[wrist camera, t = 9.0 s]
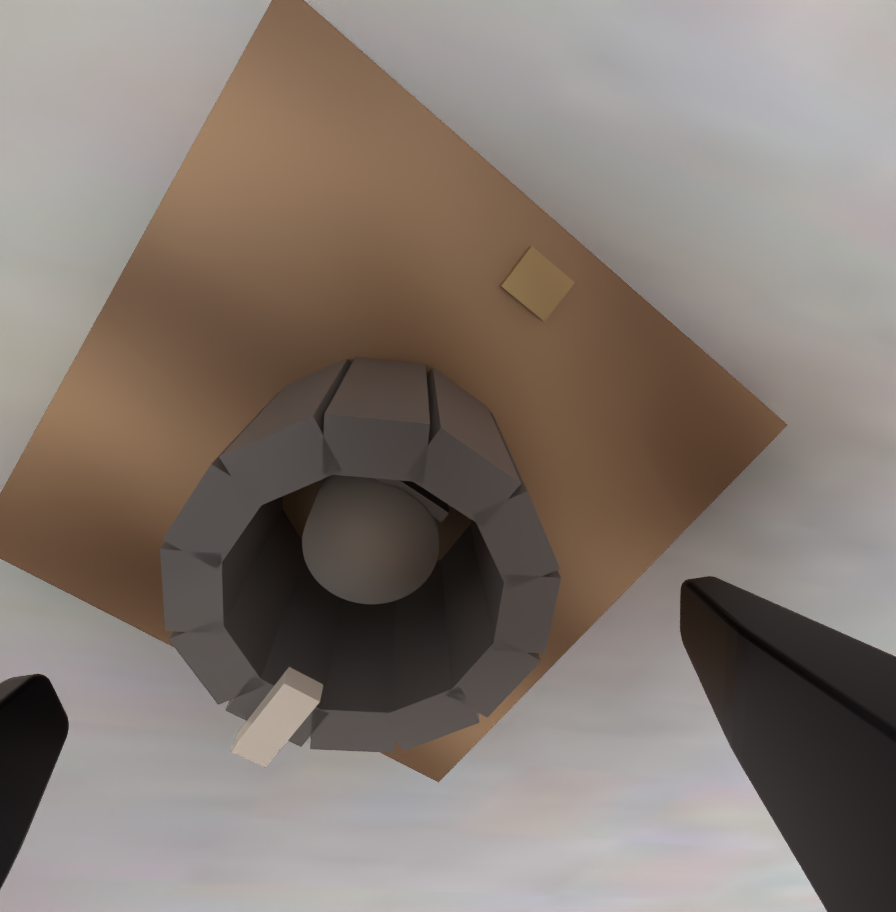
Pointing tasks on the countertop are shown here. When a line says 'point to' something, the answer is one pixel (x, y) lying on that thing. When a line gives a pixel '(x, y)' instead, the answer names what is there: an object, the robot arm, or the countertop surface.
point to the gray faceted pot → (341, 621)
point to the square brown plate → (369, 357)
